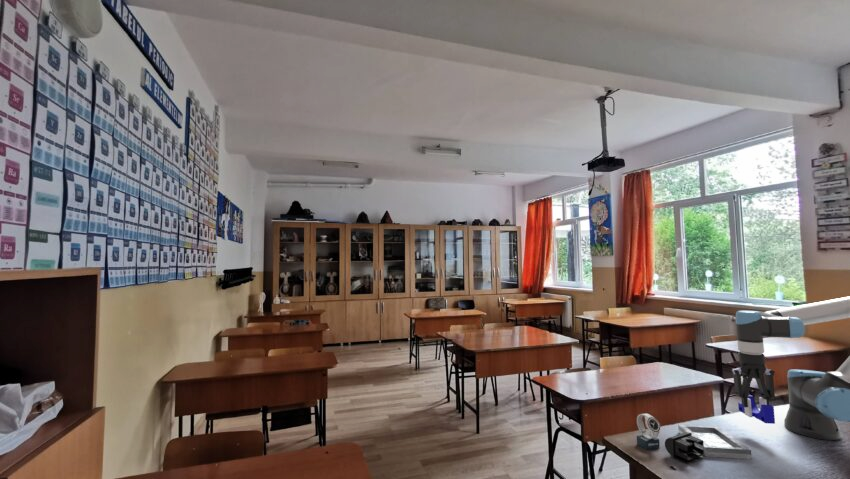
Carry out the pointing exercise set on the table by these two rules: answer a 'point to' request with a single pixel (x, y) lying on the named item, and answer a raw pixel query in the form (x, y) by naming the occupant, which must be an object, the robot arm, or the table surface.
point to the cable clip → (760, 411)
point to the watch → (647, 439)
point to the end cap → (684, 448)
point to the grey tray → (717, 442)
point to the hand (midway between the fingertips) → (756, 415)
